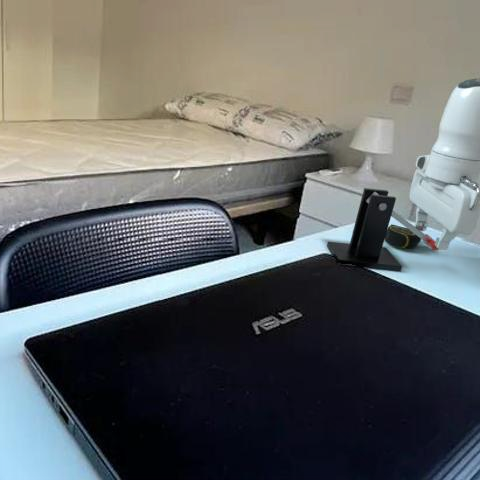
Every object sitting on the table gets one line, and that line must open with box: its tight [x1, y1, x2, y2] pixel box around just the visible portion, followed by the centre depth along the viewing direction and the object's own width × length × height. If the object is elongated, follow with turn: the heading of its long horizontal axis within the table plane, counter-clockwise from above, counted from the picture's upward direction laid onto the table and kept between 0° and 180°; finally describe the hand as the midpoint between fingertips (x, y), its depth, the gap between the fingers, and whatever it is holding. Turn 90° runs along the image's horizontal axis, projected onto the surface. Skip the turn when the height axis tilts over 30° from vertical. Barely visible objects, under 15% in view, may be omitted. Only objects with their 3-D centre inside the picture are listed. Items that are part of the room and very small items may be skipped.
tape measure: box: [384, 223, 422, 250], centre depth 107 cm, size 7×7×4 cm
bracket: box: [326, 187, 403, 273], centre depth 97 cm, size 12×9×14 cm
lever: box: [366, 192, 439, 252], centre depth 96 cm, size 16×5×2 cm, turn 88°
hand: (429, 238), depth 97 cm, fingers open, 8 cm apart
